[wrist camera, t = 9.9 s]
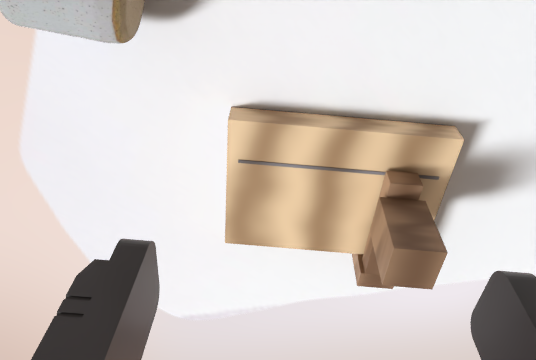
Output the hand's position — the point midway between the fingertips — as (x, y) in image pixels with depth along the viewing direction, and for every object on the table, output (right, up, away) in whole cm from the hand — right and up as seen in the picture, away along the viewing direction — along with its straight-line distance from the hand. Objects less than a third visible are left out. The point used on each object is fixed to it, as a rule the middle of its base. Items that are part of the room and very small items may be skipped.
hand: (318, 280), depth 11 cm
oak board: (+5, +2, +32) cm, 33 cm away
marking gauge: (+10, -1, +34) cm, 35 cm away
